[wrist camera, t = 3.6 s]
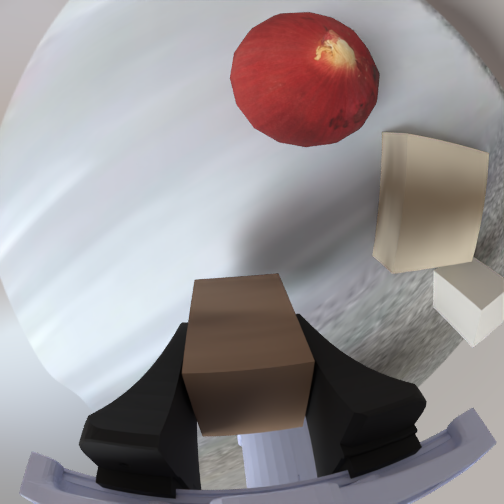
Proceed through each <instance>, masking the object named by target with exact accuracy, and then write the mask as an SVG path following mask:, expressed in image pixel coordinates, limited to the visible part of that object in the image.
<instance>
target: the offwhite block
mask: <svg viewBox="0 0 504 504" xmlns="http://www.w3.org/2000/svg"><path fill="white" fill-rule="evenodd" d="M433 308H434V309H436V310H437V311H438V312H439V313H440V314H441V315H442V316H443V317H444V318H445V320H446V321H447V322H448V323H449V324H450V325H451V326H452V327H453V328H454V329H455V330H456V331H457V332H458V333H459V334H460V335H461V336H462V337H463V338H464V339H465V340H466V341H467V343H468V344H469V345H470V346H471V347H472V348H473V347H474V346H476V345H477V344H478V343H480V342H481V341H482V340H483V339H484V338H486V337H487V336H488V335H489V334H490V333H491V332H493V331H494V330H495V329H496V328H497V327H498V326H499V325H500V324H502V323H503V321H504V278H503V277H502V276H501V275H499V274H498V273H496V272H495V271H494V270H492V269H491V268H489V267H488V266H486V265H485V264H484V263H482V262H481V261H479V260H478V259H476V258H475V257H473V260H472V262H466V263H460V264H454V265H448V266H442V267H439V268H437V269H435V270H434V292H433Z"/></svg>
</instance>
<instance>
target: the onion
mask: <svg viewBox="0 0 504 504" xmlns="http://www.w3.org/2000/svg"><path fill="white" fill-rule="evenodd" d="M230 80H231V84H232V88H233V92H234V96H235V100H236V104H237V106H238V107H239V108H240V110H241V111H242V112H243V114H244V115H245V116H246V118H247V119H248V120H249V122H250V123H251V124H252V126H253V127H254V128H255V129H257V130H259V131H260V132H262V133H264V134H266V135H267V136H269V137H271V138H273V139H274V140H276V141H278V142H280V143H286V144H292V145H297V146H302V147H310V146H318V145H326V144H332V143H337V142H339V141H340V140H342V139H344V138H345V137H347V136H349V135H350V134H352V133H354V132H355V131H357V130H359V129H360V128H361V127H362V126H363V124H364V123H365V121H366V119H367V118H368V116H369V115H370V113H371V111H372V110H373V108H374V106H375V105H376V102H377V97H378V85H379V72H378V69H377V67H376V65H375V63H374V61H373V59H372V57H371V54H370V52H369V50H368V48H367V47H366V46H365V44H364V43H363V42H362V40H361V39H360V38H359V37H358V35H357V34H356V33H355V32H354V31H353V30H352V29H350V28H349V27H347V26H345V25H344V24H342V23H341V22H339V21H337V20H335V19H334V18H331V17H327V16H323V15H319V14H315V13H310V12H302V13H282V14H278V15H275V16H273V17H271V18H269V19H267V20H266V21H264V22H262V23H260V24H259V25H257V26H255V27H253V28H252V29H251V30H250V31H249V33H248V34H247V35H246V37H245V38H244V39H243V41H242V42H241V44H240V45H239V47H238V48H237V50H236V51H235V53H234V57H233V63H232V69H231V75H230Z"/></svg>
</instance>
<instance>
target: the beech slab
mask: <svg viewBox="0 0 504 504" xmlns="http://www.w3.org/2000/svg"><path fill="white" fill-rule="evenodd" d="M488 161H489V153H487V152H484V151H480V150H477V149H473V148H470V147H466V146H462V145H459V144H455V143H451V142H446V141H442V140H438V139H433V138H428V137H423V136H418V135H413V134H407V133H392V132H382V155H381V178H380V193H379V205H378V215H377V225H376V233H375V241H374V248H373V255H372V256H373V257H374V258H376V259H377V260H378V261H379V262H380V263H381V264H382V265H383V266H384V267H386V268H387V269H388V270H389V271H390V272H391V273H392V274H395V273H402V272H409V271H416V270H423V269H429V268H436V267H442V266H448V265H454V264H460V263H466V262H472V260H473V256H474V252H475V248H476V243H477V239H478V234H479V230H480V224H481V219H482V213H483V207H484V200H485V193H486V185H487V175H488Z"/></svg>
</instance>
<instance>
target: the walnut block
mask: <svg viewBox="0 0 504 504" xmlns="http://www.w3.org/2000/svg"><path fill="white" fill-rule="evenodd" d="M314 364H315V360H314V358H313V355H312V353H311V351H310V348H309V346H308V343H307V341H306V338H305V336H304V333H303V331H302V329H301V326H300V324H299V321H298V319H297V317H296V314H295V312H294V309H293V307H292V305H291V302H290V300H289V297H288V295H287V293H286V290H285V288H284V286H283V283H282V281H281V278H280V276H279V274H278V273H277V274H265V275H253V276H240V277H226V278H212V279H197V280H195V281H194V287H193V294H192V300H191V307H190V314H189V320H188V328H187V335H186V343H185V350H184V359H183V367H182V376H183V379H184V383H185V386H186V389H187V392H188V395H189V398H190V401H191V405H192V407H193V410H194V413H195V416H196V419H197V422H198V425H199V428H200V430H201V433H202V436H227V435H242V434H253V433H262V432H271V431H278V430H285V429H291V428H297V427H303V423H304V418H305V413H306V408H307V403H308V398H309V393H310V387H311V381H312V376H313V370H314Z"/></svg>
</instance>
